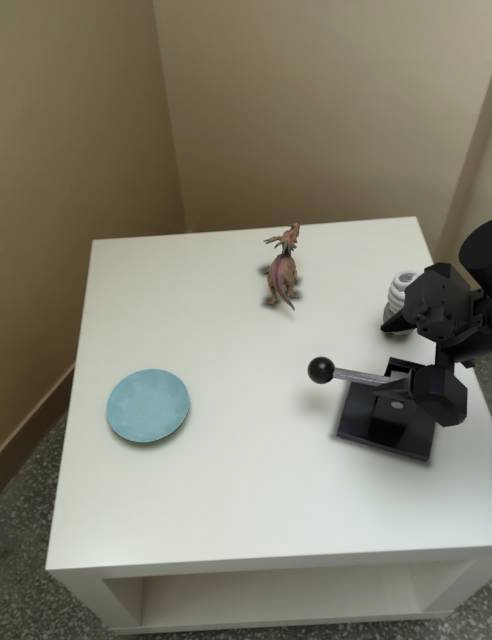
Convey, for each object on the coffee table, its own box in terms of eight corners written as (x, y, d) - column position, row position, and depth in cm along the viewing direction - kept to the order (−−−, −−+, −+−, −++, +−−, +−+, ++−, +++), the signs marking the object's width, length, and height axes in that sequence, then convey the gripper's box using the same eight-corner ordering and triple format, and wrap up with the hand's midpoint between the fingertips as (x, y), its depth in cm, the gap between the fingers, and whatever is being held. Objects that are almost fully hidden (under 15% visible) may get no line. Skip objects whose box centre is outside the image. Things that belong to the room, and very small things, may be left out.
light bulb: (410, 315, 83) (429, 260, 73) (420, 344, 79) (442, 291, 70) (373, 318, 83) (388, 264, 73) (382, 348, 80) (398, 295, 70)
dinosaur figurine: (263, 257, 92) (263, 215, 84) (298, 257, 91) (300, 215, 83) (261, 319, 84) (261, 280, 76) (299, 320, 84) (302, 280, 76)
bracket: (336, 436, 72) (346, 394, 63) (351, 382, 77) (362, 336, 67) (426, 462, 69) (451, 423, 60) (436, 405, 74) (461, 360, 64)
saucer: (94, 429, 75) (89, 422, 73) (136, 365, 81) (133, 357, 79) (165, 461, 72) (163, 455, 70) (205, 392, 77) (203, 384, 76)
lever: (305, 386, 70) (303, 371, 67) (312, 364, 72) (310, 348, 69) (409, 407, 65) (412, 391, 62) (414, 383, 67) (417, 366, 64)
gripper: (471, 203, 54) (347, 263, 65) (467, 351, 44) (321, 392, 55) (523, 269, 58) (399, 314, 70) (530, 415, 49) (384, 440, 60)
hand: (377, 359), depth 64 cm, fingers open, 9 cm apart
